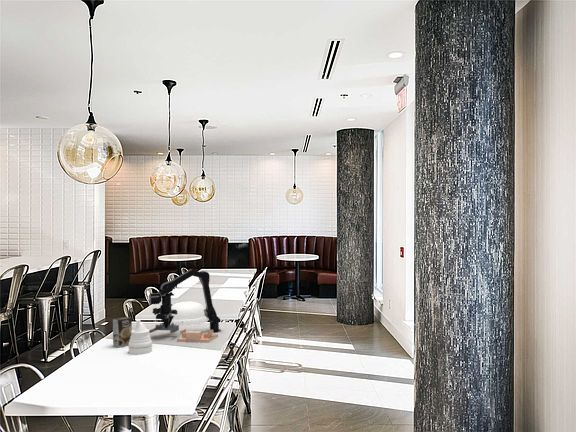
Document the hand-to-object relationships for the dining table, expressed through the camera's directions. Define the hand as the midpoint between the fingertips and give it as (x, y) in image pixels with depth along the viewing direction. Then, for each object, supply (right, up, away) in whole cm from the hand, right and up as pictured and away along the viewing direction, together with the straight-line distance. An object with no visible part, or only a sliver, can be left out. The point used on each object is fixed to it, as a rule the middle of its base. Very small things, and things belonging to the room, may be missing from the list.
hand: (167, 328), depth 350 cm
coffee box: (-21, -6, -21) cm, 31 cm away
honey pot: (-7, -6, -37) cm, 38 cm away
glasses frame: (-1, -1, -4) cm, 4 cm away
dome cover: (+4, -6, +49) cm, 50 cm away
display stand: (+21, -5, -9) cm, 23 cm away
